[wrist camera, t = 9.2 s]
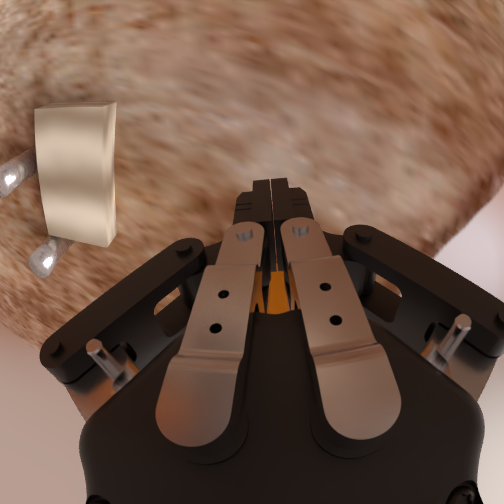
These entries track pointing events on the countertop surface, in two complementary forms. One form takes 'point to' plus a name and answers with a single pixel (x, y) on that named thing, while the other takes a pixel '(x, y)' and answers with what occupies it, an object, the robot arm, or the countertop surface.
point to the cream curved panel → (77, 169)
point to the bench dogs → (52, 247)
